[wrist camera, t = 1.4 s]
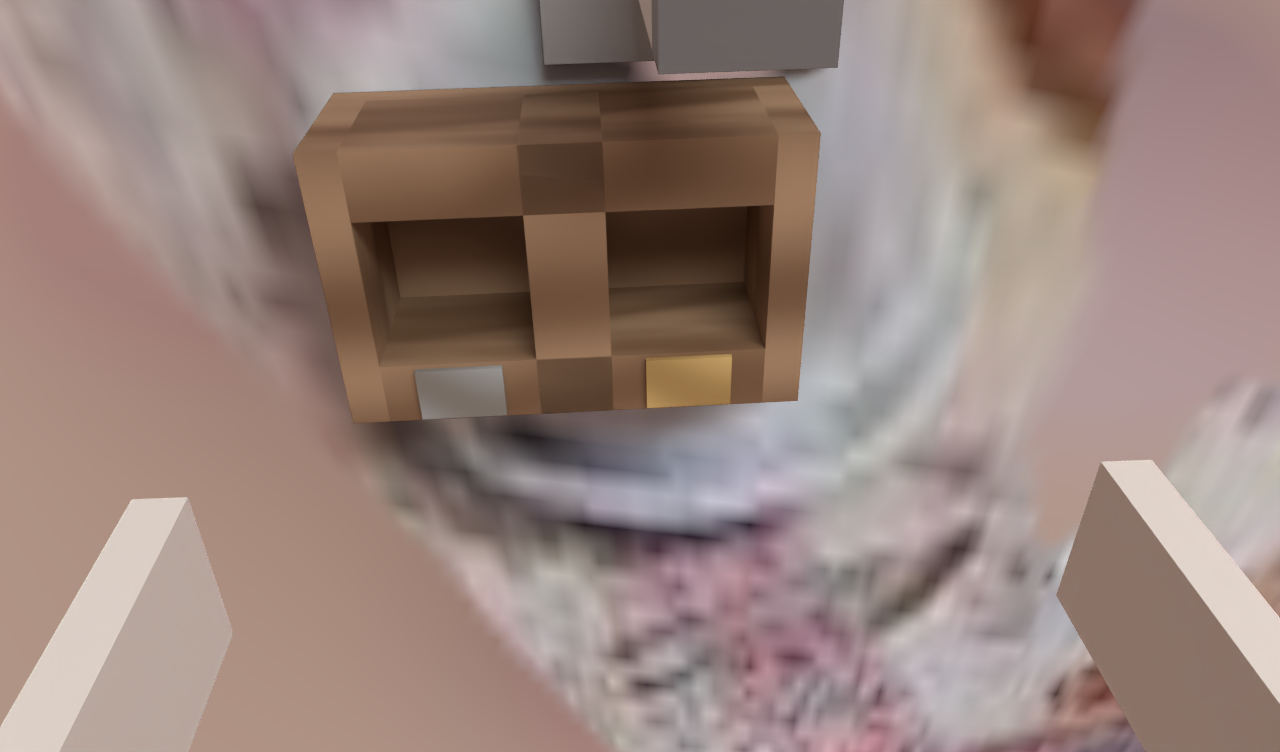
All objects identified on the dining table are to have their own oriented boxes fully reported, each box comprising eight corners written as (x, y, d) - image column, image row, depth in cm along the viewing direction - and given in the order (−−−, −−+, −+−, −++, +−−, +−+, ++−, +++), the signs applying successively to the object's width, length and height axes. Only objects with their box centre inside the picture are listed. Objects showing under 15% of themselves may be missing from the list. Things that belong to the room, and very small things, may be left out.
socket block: (333, 93, 34) (291, 156, 29) (784, 76, 35) (822, 135, 29) (381, 340, 40) (353, 431, 34) (768, 322, 40) (798, 408, 35)
